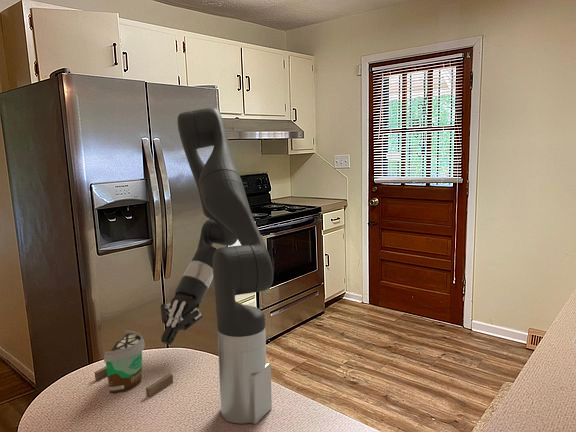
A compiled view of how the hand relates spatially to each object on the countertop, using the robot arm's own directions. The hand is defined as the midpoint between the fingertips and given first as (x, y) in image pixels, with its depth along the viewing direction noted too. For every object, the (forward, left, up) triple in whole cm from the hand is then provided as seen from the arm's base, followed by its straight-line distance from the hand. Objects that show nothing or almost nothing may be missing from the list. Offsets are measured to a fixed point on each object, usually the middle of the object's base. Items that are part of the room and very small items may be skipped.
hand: (165, 343), depth 108 cm
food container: (0, +11, -5) cm, 12 cm away
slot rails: (0, +10, -5) cm, 12 cm away
